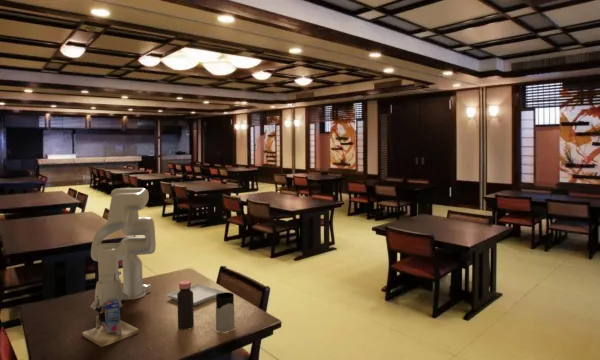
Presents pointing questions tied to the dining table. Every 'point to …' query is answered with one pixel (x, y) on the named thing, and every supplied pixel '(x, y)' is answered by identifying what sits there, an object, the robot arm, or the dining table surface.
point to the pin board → (104, 338)
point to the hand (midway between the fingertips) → (110, 318)
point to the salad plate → (199, 293)
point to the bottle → (185, 306)
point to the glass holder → (224, 312)
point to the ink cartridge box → (111, 316)
